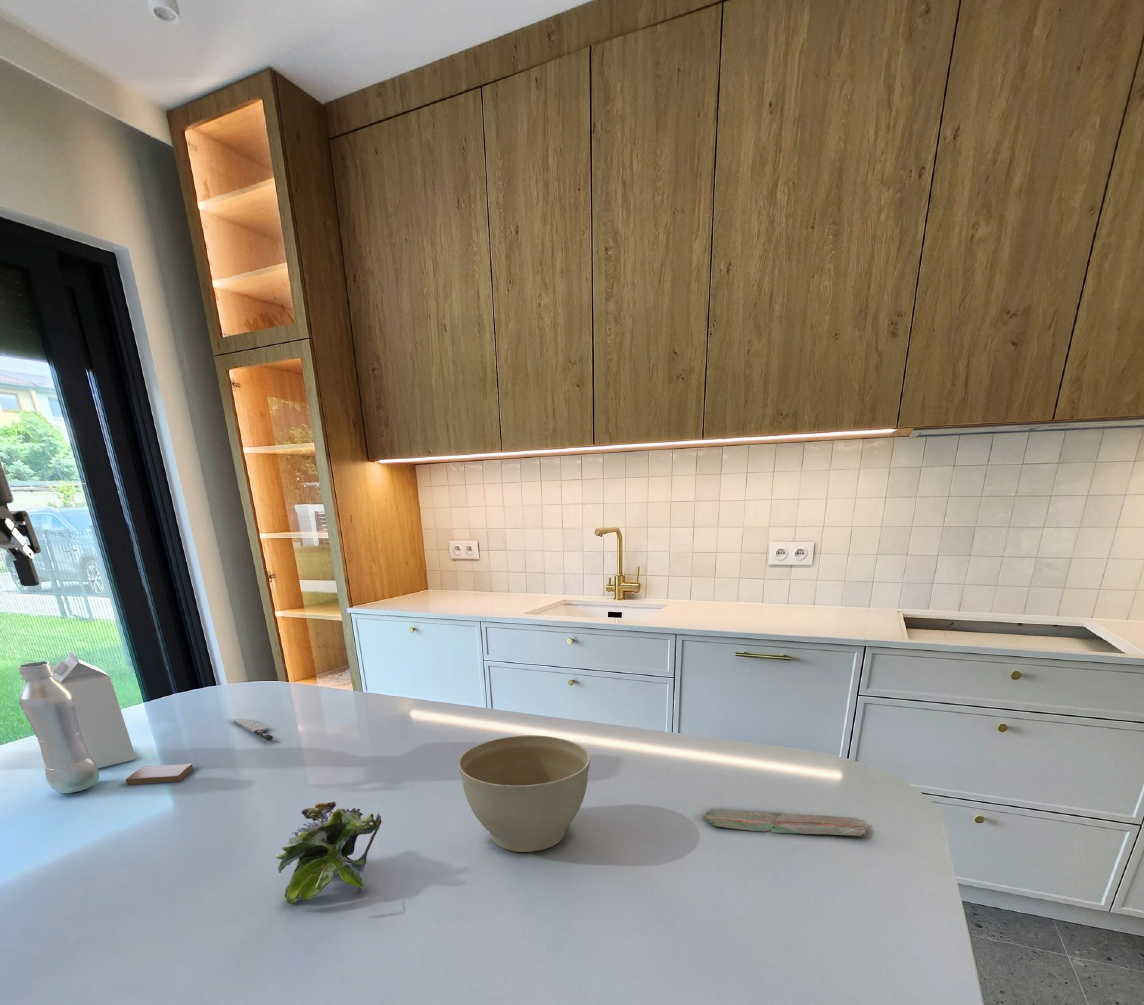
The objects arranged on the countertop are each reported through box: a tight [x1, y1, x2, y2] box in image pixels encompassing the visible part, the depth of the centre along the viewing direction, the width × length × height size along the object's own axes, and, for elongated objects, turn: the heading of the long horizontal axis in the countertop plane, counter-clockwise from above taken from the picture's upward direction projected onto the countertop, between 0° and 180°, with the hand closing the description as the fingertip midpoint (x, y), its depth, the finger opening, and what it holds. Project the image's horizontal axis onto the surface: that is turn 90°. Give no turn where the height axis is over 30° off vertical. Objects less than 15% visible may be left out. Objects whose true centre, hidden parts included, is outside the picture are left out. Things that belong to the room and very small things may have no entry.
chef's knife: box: [232, 719, 274, 742], centre depth 125 cm, size 19×1×3 cm
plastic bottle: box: [17, 660, 100, 794], centre depth 98 cm, size 6×7×20 cm
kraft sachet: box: [125, 763, 194, 786], centre depth 105 cm, size 8×5×1 cm, turn 95°
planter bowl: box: [457, 734, 591, 853], centre depth 82 cm, size 16×16×11 cm
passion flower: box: [275, 801, 383, 905], centre depth 74 cm, size 11×11×12 cm
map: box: [700, 808, 868, 837], centre depth 84 cm, size 5×20×1 cm, turn 77°
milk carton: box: [52, 649, 137, 770], centre depth 109 cm, size 7×7×19 cm
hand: (10, 590), depth 93 cm, fingers open, 8 cm apart
